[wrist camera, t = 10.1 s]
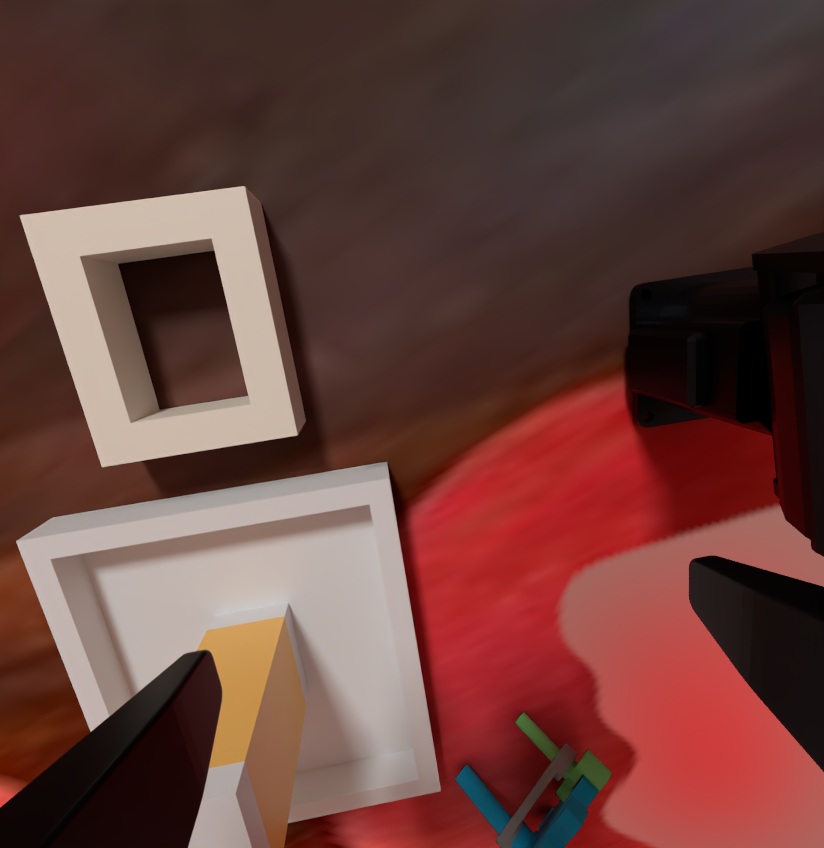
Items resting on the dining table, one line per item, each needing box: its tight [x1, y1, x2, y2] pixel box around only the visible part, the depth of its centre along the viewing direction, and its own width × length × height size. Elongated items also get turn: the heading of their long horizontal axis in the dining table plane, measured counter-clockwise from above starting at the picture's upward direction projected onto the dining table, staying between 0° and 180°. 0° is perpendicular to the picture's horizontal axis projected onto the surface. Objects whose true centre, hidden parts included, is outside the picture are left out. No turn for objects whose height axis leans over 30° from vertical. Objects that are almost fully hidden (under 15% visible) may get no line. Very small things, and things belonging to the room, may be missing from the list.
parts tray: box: [16, 462, 441, 823], centre depth 22 cm, size 15×17×2 cm
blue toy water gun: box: [455, 712, 612, 848], centre depth 24 cm, size 11×6×10 cm
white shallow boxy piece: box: [20, 186, 306, 467], centre depth 18 cm, size 8×9×2 cm
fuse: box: [188, 603, 309, 848], centre depth 18 cm, size 4×5×9 cm
